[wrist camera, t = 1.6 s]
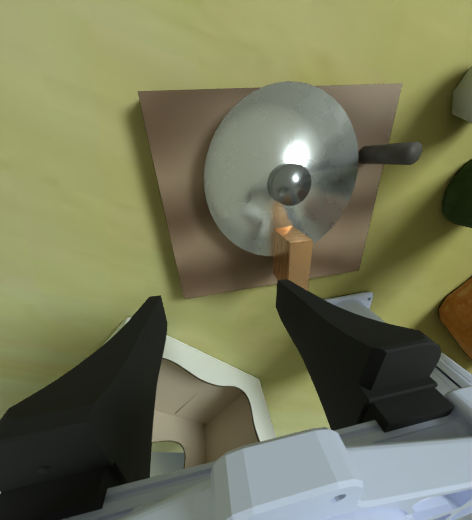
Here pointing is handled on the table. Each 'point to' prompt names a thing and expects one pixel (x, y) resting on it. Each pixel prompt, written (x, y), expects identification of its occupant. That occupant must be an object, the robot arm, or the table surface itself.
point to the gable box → (206, 404)
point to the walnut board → (194, 200)
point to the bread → (459, 315)
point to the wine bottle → (459, 198)
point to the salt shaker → (463, 98)
